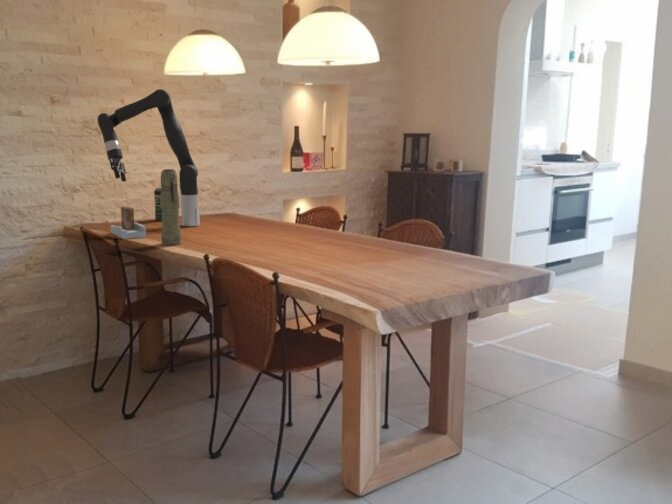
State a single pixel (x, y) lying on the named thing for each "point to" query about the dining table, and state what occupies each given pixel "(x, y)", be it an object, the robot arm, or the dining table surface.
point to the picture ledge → (129, 231)
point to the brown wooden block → (127, 218)
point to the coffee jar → (157, 204)
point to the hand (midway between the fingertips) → (121, 179)
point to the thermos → (170, 208)
